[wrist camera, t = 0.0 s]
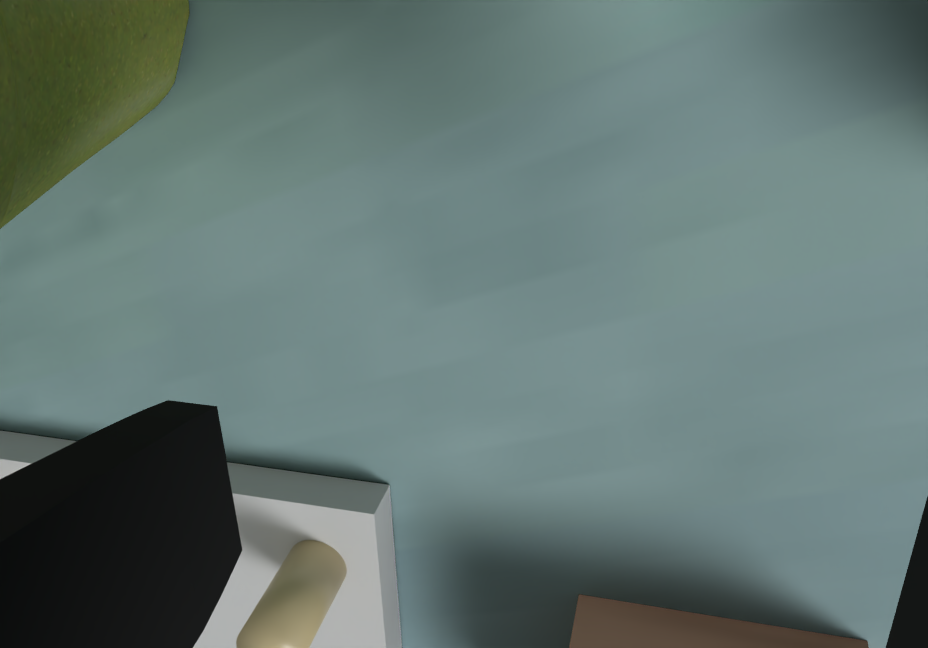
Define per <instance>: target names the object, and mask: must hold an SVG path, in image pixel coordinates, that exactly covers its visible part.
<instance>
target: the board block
mask: <svg viewBox="0 0 928 648" xmlns="http://www.w3.org/2000/svg"><path fill="white" fill-rule="evenodd" d="M569 648H869V647H868V642H867V641H865V640H859V639H853V638H847V637H841V636H834V635H828V634H822V633H816V632H810V631H803V630H797V629H791V628H785V627H779V626H772V625H766V624H760V623H754V622H748V621H741V620H735V619H729V618H723V617H717V616H710V615H704V614H698V613H692V612H686V611H679V610H673V609H667V608H661V607H655V606H648V605H642V604H636V603H630V602H624V601H617V600H611V599H605V598H599V597H593V596H586V595H580V594H579V596H578V602H577V607H576V613H575V618H574V624H573V629H572V635H571V640H570V645H569Z"/></svg>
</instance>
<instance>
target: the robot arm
mask: <svg viewBox="0 0 928 648" xmlns="http://www.w3.org/2000/svg"><path fill="white" fill-rule="evenodd" d="M241 552H242V545H241V540H240V534H239V528H238V523H237V517H236V511H235V506H234V500H233V494H232V489H231V483H230V478H229V472H228V466H227V461H226V455H225V449H224V444H223V438H222V432H221V427H220V421H219V416H218V410H217V406H209V405H201V404H193V403H185V402H177V401H169V400H168V401H165V402H162V403H160V404H157V405H155V406H152V407H150V408H147V409H145V410H142V411H140V412H138V413H136V414H133V415H131V416H129V417H127V418H125V419H122V420H120V421H118V422H116V423H114V424H112V425H110V426H107V427H105V428H103V429H101V430H99V431H97V432H95V433H93V434H91V435H89V436H87V437H85V438H83V439H81V440H79V441H77V442H75V443H73V444H71V445H68V446H66V447H64V448H62V449H60V450H58V451H56V452H54V453H52V454H50V455H48V456H46V457H44V458H42V459H40V460H38V461H36V462H34V463H32V464H30V465H28V466H26V467H24V468H22V469H20V470H18V471H16V472H14V473H12V474H10V475H8V476H5V477H3V478H1V479H0V648H193V647H194V645H195V644H196V642H197V640H198V639H199V637H200V636H201V634H202V632H203V631H204V629H205V627H206V625H207V623H208V621H209V619H210V617H211V615H212V613H213V611H214V609H215V607H216V605H217V603H218V601H219V599H220V597H221V595H222V593H223V591H224V589H225V587H226V585H227V582H228V580H229V578H230V576H231V574H232V572H233V570H234V567H235V565H236V563H237V561H238V559H239V557H240V554H241ZM886 648H928V497H927V501H926V504H925V508H924V511H923V515H922V519H921V522H920V526H919V529H918V533H917V537H916V540H915V544H914V548H913V551H912V555H911V558H910V562H909V566H908V569H907V573H906V577H905V580H904V584H903V587H902V591H901V595H900V598H899V602H898V606H897V609H896V613H895V616H894V620H893V624H892V627H891V631H890V634H889V638H888V642H887V645H886Z"/></svg>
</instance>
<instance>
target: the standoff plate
mask: <svg viewBox="0 0 928 648" xmlns="http://www.w3.org/2000/svg"><path fill="white" fill-rule="evenodd" d="M75 442H77V441H71V440H64V439H57V438H50V437H43V436H36V435H29V434H21V433H14V432H7V431H0V479H1V478H3V477H5V476H8V475H10V474H12V473H14V472H16V471H18V470H20V469H22V468H24V467H26V466H28V465H30V464H32V463H34V462H36V461H38V460H40V459H42V458H44V457H46V456H48V455H50V454H52V453H54V452H56V451H58V450H60V449H62V448H64V447H66V446H68V445H71V444H73V443H75ZM227 466H228V472H229V478H230V483H231V489H232V494H233V500H234V506H235V511H236V517H237V523H238V528H239V534H240V540H241V545H242V552H241V554H240V557H239V559H238V561H237V563H236V565H235V567H234V570H233V572H232V574H231V576H230V578H229V580H228V582H227V585H226V587H225V589H224V591H223V593H222V595H221V597H220V599H219V601H218V603H217V605H216V607H215V609H214V611H213V613H212V615H211V617H210V619H209V621H208V623H207V625H206V627H205V629H204V631H203V632H202V634H201V636H200V637H199V639H198V640H197V642H196V644H195V645H194V647H193V648H402V640H401V627H400V614H399V601H398V588H397V575H396V562H395V549H394V536H393V523H392V510H391V497H390V485H386V484H379V483H372V482H365V481H357V480H350V479H343V478H336V477H329V476H322V475H315V474H307V473H300V472H293V471H286V470H279V469H272V468H264V467H257V466H250V465H243V464H236V463H229V462H227Z"/></svg>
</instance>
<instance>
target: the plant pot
mask: <svg viewBox="0 0 928 648" xmlns="http://www.w3.org/2000/svg"><path fill="white" fill-rule="evenodd" d="M188 17H189V2H188V0H0V228H2V227H3V226H4V225H5V224H7V223H8V222H9V221H10V220H12V219H13V218H14V217H15V216H17V215H18V214H19V213H20V212H22V211H23V210H24V209H25V208H27V207H28V206H29V205H30V204H32V203H33V202H34V201H35V200H37V199H38V198H39V197H40V196H42V195H43V194H44V193H45V192H47V191H48V190H49V189H50V188H52V187H53V186H54V185H55V184H57V183H58V182H59V181H60V180H62V179H63V178H64V177H65V176H67V175H68V174H69V173H71V172H72V171H73V170H74V169H76V168H77V167H78V166H80V165H81V164H82V163H84V162H85V161H86V160H88V159H89V158H90V157H92V156H93V155H94V154H96V153H97V152H98V151H100V150H101V149H102V148H104V147H105V146H107V145H108V144H109V143H111V142H112V141H113V140H115V139H116V138H117V137H119V136H120V135H121V134H123V133H124V132H125V131H126V130H128V129H129V128H130V127H131V126H133V125H134V124H135V123H136V122H138V121H139V120H140V119H141V118H143V117H144V116H145V115H146V114H148V113H149V112H150V111H151V110H152V109H154V108H155V107H156V106H157V105H158V104H159V103H160V102H161V101H162V99H163V98H164V97H165V96H166V95H167V93H168V92H169V91H170V89H171V87H172V85H173V84H174V81H175V78H176V73H177V69H178V64H179V59H180V55H181V50H182V46H183V41H184V36H185V31H186V26H187V22H188Z"/></svg>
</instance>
